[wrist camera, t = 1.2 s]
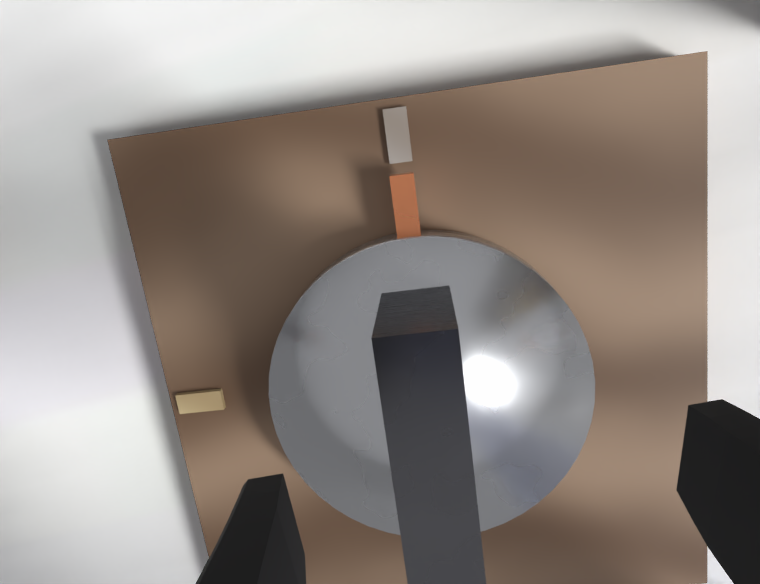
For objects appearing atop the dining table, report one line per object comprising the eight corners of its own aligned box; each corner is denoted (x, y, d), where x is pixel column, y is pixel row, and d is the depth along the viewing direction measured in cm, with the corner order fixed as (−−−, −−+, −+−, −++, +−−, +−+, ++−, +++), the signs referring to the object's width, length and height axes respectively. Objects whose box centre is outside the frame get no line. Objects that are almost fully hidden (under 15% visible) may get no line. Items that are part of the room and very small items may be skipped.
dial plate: (688, 554, 23) (709, 587, 21) (234, 587, 24) (221, 619, 23) (684, 57, 18) (710, 50, 17) (129, 139, 20) (104, 139, 18)
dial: (589, 498, 20) (649, 625, 15) (305, 521, 21) (269, 649, 16) (569, 149, 18) (635, 156, 12) (243, 194, 19) (172, 218, 13)
